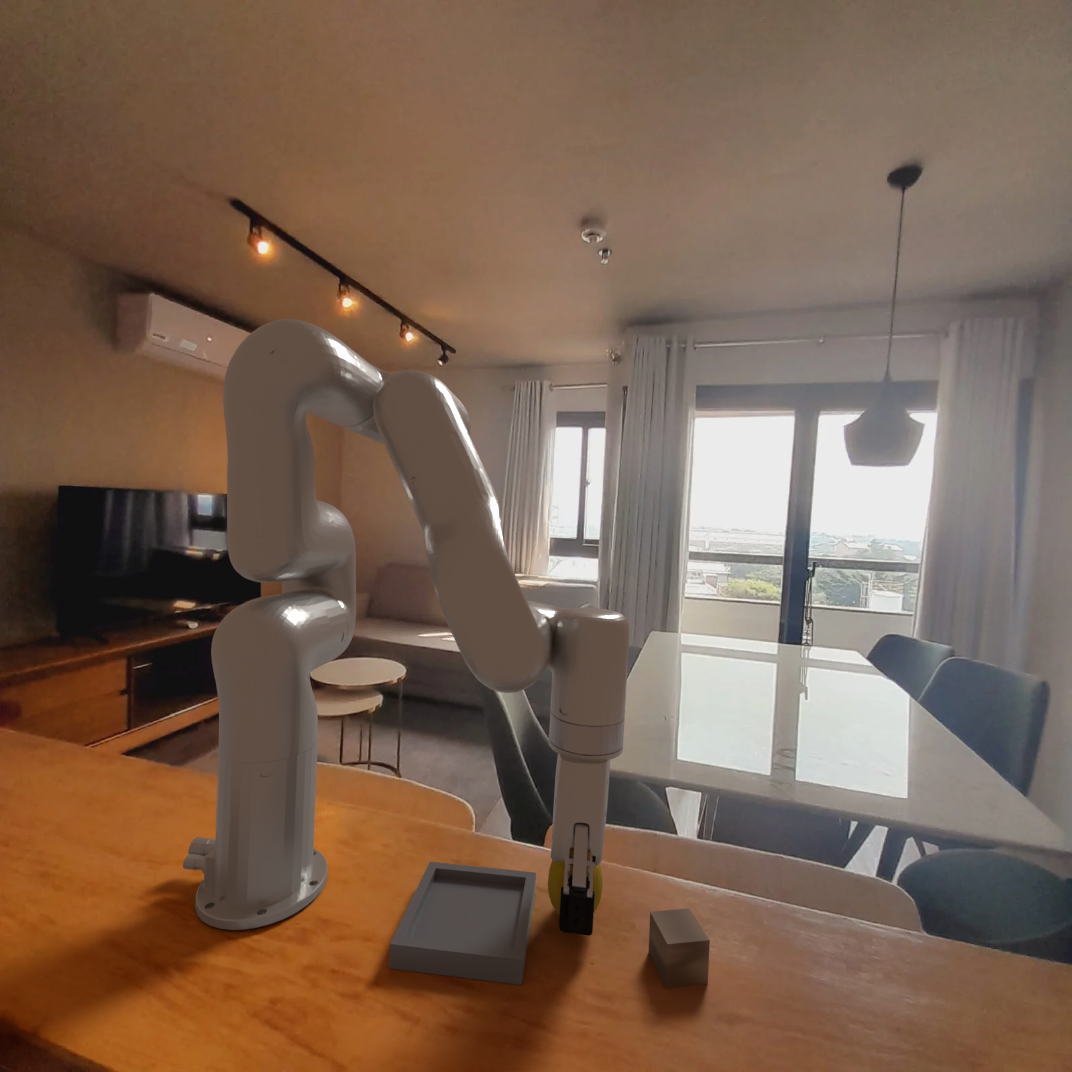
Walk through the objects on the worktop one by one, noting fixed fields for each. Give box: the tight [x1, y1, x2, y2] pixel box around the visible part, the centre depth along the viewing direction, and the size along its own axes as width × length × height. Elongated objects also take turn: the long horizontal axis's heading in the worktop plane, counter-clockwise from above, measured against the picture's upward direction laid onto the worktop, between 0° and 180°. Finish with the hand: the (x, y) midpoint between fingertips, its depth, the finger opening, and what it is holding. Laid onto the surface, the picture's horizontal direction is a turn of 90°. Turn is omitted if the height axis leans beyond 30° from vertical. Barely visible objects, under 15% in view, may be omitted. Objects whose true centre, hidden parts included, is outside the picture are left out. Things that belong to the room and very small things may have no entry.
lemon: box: [547, 850, 603, 916], centre depth 54 cm, size 6×6×8 cm
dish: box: [388, 861, 537, 986], centre depth 53 cm, size 12×12×2 cm
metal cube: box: [648, 907, 711, 989], centre depth 49 cm, size 4×4×4 cm
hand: (576, 906), depth 54 cm, fingers closed on lemon, 5 cm apart
